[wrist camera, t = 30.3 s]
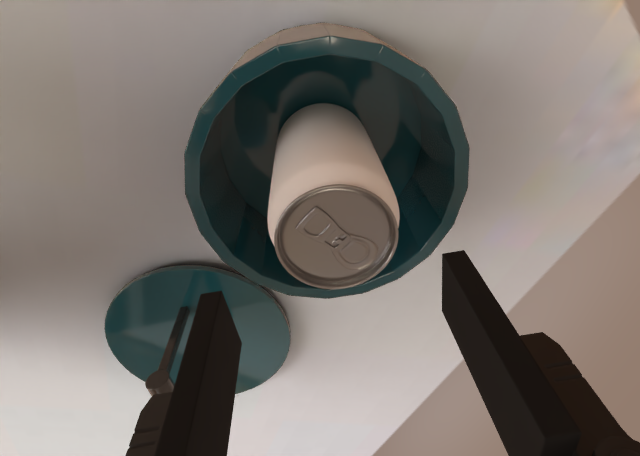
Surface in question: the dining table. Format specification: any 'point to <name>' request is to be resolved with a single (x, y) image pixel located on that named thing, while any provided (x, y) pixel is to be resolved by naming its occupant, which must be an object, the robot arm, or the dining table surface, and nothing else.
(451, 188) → the pot
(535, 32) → the dining table surface
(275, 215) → the can
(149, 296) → the lid
